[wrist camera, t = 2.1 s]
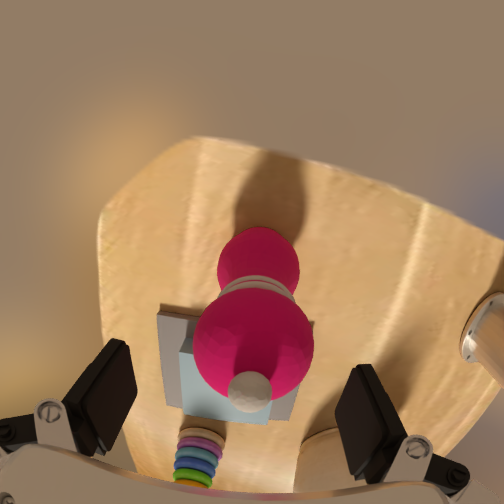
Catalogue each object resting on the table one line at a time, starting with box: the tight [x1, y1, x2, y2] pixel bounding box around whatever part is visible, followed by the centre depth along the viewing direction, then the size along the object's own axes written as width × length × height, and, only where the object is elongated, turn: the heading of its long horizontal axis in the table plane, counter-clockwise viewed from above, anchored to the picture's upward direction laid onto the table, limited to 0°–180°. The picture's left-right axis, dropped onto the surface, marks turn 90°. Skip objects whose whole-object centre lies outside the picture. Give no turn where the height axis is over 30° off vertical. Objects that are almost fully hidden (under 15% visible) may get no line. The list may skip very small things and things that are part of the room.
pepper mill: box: [193, 227, 314, 413], centre depth 19 cm, size 7×7×20 cm
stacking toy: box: [173, 428, 225, 489], centre depth 28 cm, size 8×8×19 cm
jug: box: [293, 427, 367, 493], centre depth 25 cm, size 15×16×25 cm
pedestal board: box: [157, 311, 313, 425], centre depth 31 cm, size 18×16×4 cm
